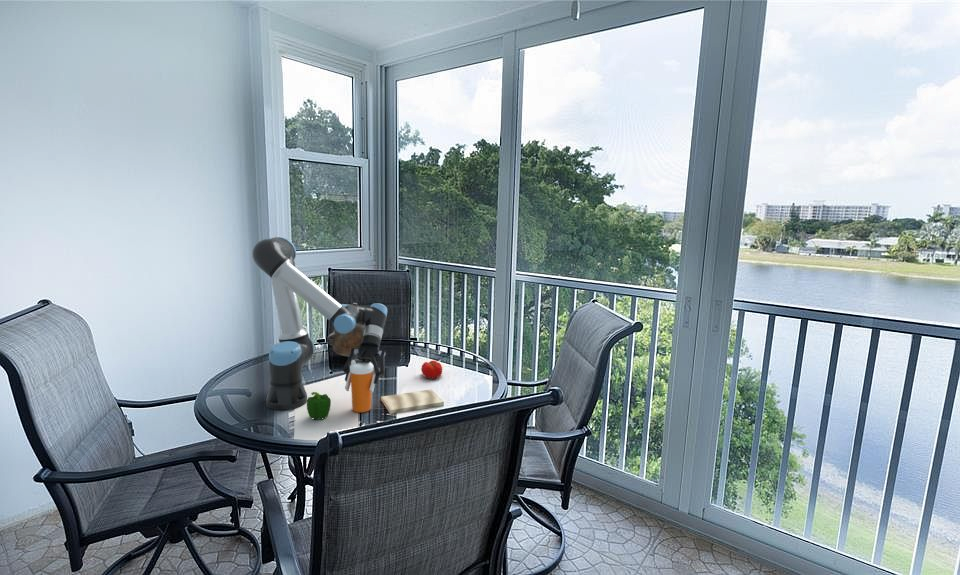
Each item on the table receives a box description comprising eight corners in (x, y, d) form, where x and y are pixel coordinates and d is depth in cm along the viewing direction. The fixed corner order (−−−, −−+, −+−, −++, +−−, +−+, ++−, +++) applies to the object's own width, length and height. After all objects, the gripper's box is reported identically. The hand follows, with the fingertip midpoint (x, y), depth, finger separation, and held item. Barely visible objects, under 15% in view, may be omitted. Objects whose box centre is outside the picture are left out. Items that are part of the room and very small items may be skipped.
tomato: (423, 381, 214) (423, 367, 213) (419, 372, 225) (420, 359, 223) (444, 379, 217) (444, 366, 216) (440, 371, 227) (440, 358, 226)
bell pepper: (333, 412, 178) (333, 387, 177) (327, 422, 170) (327, 396, 169) (311, 412, 178) (310, 387, 176) (304, 421, 170) (303, 395, 168)
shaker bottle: (367, 414, 177) (367, 364, 173) (345, 411, 178) (345, 361, 175) (377, 405, 185) (377, 357, 182) (356, 402, 187) (356, 354, 184)
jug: (359, 349, 257) (358, 295, 252) (386, 357, 244) (386, 301, 239) (321, 360, 237) (319, 302, 232) (348, 369, 225) (347, 308, 220)
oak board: (390, 413, 179) (390, 410, 179) (381, 400, 191) (381, 396, 191) (443, 405, 188) (443, 401, 188) (431, 392, 201) (431, 389, 200)
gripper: (399, 344, 193) (388, 396, 180) (348, 341, 194) (333, 392, 181) (396, 335, 187) (385, 388, 174) (343, 332, 188) (328, 384, 175)
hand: (359, 390), depth 177 cm, fingers closed on shaker bottle, 9 cm apart
